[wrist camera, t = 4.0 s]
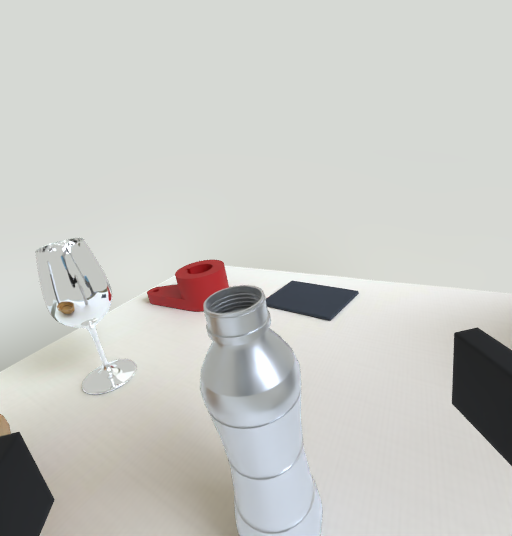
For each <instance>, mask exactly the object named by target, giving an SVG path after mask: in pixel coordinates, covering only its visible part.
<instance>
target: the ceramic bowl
mask: <svg viewBox="0 0 512 536" xmlns="http://www.w3.org/2000/svg"><path fill="white" fill-rule="evenodd" d="M8 434H11V432H10V426H9V424H8V422H7V421H6V419H5V418H4V416H3V415H1V414H0V436H3V435H8Z"/></svg>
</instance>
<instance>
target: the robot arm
mask: <svg viewBox="0 0 512 536" xmlns="http://www.w3.org/2000/svg"><path fill="white" fill-rule="evenodd" d="M452 404H453V405H454V406H455V407H456V408H457V409H458V410H459V411H460V412H461V413H462V414H463V415H464V417H465V418H466V419H467V420H468V421H469V422H470V423H471V424H472V425H473V426H474V427H475V428H476V429H477V430H478V431H479V432H480V433H481V434H482V435H483V436H484V437H485V438H486V440H487V441H488V442H489V443H490V444H491V445H492V446H493V447H494V448H495V449H496V450H497V451H498V452H499V453H500V454H501V455H502V456H503V457H504V458H505V459H506V460H507V461H508V463H509V464H510V465H511V466H512V350H510V349H509V348H507V347H506V346H504V345H503V344H501V343H500V342H498V341H497V340H495V339H494V338H492V337H491V336H489V335H488V334H486V333H485V332H483V331H482V330H480V329H479V328H474V329H469V330H465V331H460V332H456V333H454V360H453V389H452ZM53 502H54V498H53V496H52V494H51V492H50V490H49V488H48V486H47V484H46V482H45V480H44V479H43V477H42V475H41V473H40V471H39V469H38V467H37V465H36V463H35V461H34V459H33V457H32V455H31V454H30V452H29V450H28V448H27V446H26V444H25V442H24V440H23V438H22V436H21V434H20V432H16V433H12V434H8V435H3V436H0V536H39V535H40V533H41V530H42V528H43V526H44V523H45V521H46V519H47V516H48V514H49V512H50V509H51V507H52V505H53Z"/></svg>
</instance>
